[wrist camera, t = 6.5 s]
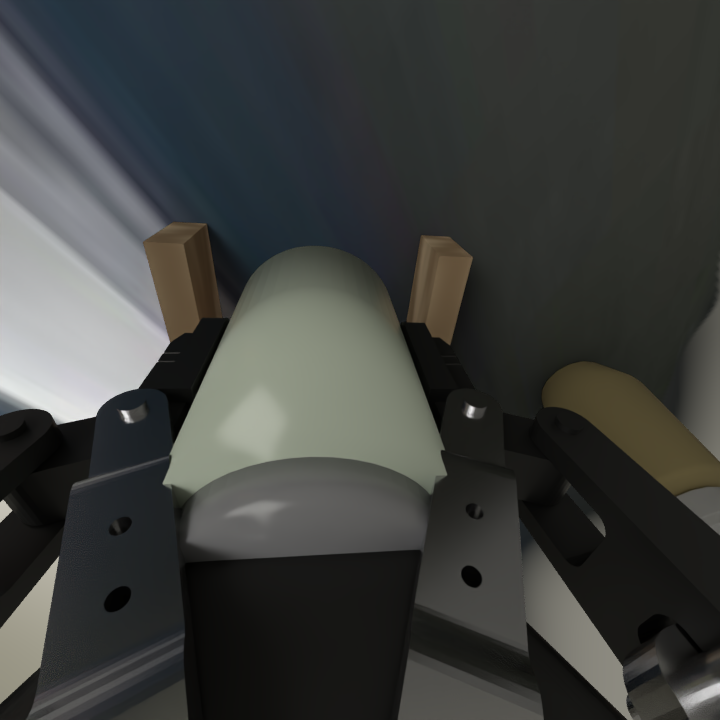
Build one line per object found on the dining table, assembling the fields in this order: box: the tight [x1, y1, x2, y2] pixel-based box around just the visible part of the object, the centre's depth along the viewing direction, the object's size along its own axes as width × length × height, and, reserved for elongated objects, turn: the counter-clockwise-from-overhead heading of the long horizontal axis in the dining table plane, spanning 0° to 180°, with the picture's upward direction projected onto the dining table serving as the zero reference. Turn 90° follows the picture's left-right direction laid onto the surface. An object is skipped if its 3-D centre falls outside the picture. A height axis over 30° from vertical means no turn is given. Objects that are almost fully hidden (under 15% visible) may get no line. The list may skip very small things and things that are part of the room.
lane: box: [143, 222, 473, 345], centre depth 26 cm, size 18×21×5 cm
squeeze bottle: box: [541, 361, 720, 535], centre depth 25 cm, size 8×8×18 cm
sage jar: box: [163, 246, 447, 563], centre depth 9 cm, size 6×6×9 cm
